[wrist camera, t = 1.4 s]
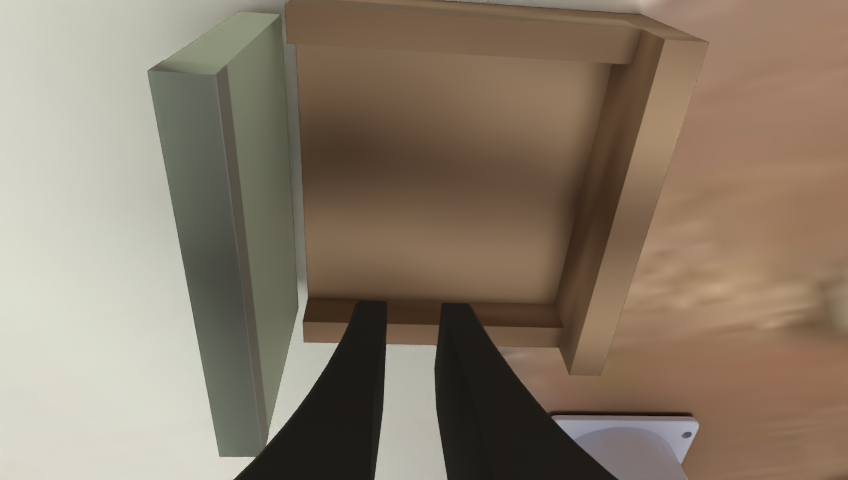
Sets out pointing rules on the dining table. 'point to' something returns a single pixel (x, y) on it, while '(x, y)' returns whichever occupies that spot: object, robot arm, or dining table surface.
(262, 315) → the panel
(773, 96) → the dining table surface
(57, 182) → the dining table surface
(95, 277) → the dining table surface
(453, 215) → the tray
